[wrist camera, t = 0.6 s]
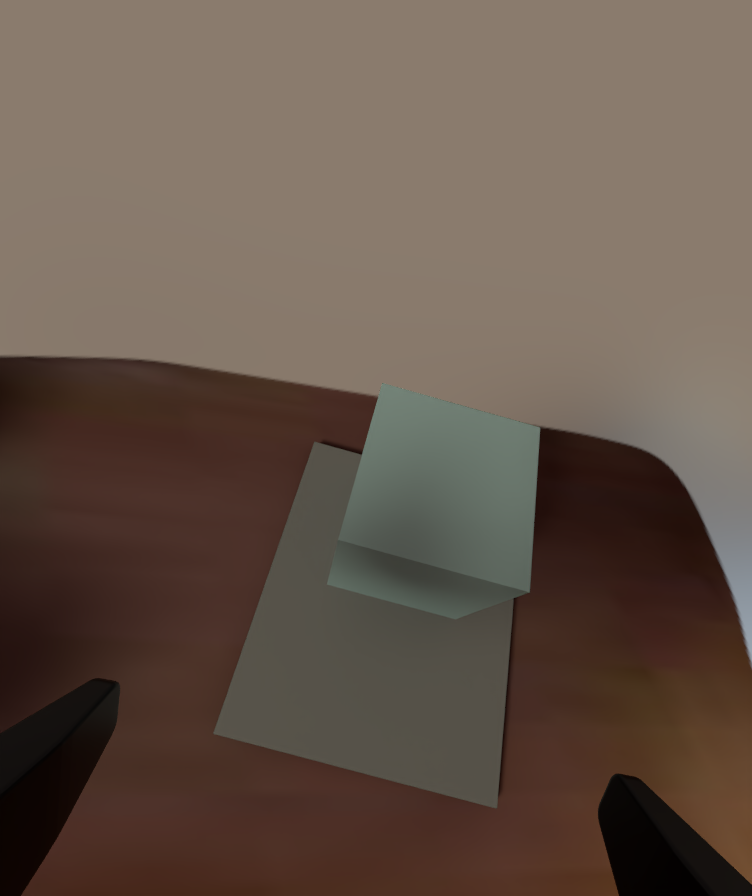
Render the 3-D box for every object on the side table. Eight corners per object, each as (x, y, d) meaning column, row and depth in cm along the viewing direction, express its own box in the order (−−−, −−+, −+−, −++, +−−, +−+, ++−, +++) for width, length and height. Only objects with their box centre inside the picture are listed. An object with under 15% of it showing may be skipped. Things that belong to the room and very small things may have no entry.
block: (455, 619, 21) (529, 592, 14) (327, 584, 21) (338, 539, 14) (472, 498, 24) (540, 427, 17) (359, 467, 24) (382, 382, 17)
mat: (491, 804, 19) (522, 826, 16) (215, 732, 18) (201, 741, 16) (517, 502, 25) (542, 482, 23) (314, 446, 25) (315, 419, 22)
